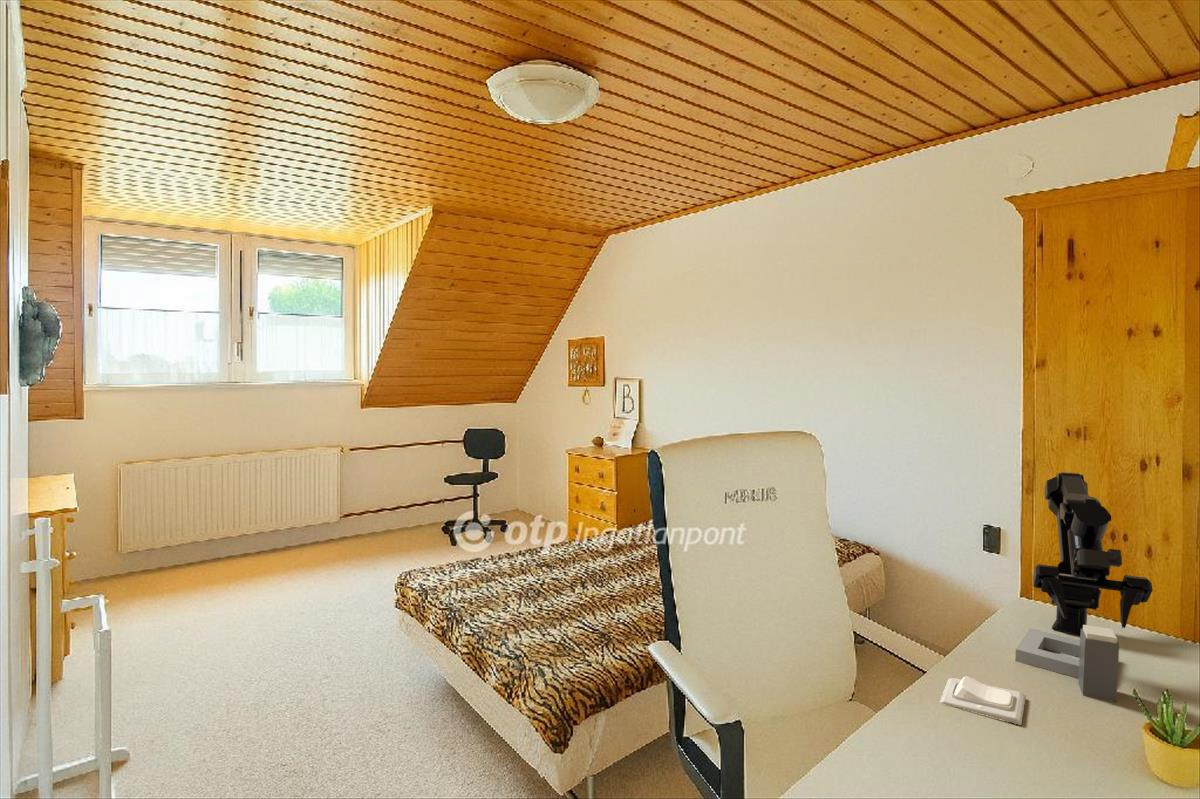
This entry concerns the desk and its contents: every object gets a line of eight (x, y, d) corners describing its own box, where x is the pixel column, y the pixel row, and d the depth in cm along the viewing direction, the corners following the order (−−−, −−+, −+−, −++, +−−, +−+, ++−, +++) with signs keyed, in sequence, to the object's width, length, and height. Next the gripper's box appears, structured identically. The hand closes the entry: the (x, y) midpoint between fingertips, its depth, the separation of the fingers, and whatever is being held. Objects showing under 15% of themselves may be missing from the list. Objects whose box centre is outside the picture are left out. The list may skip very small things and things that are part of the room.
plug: (1078, 683, 124) (1080, 623, 123) (1110, 689, 122) (1113, 628, 121) (1082, 695, 120) (1085, 633, 119) (1116, 702, 117) (1119, 639, 116)
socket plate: (1029, 638, 143) (1029, 626, 143) (1108, 658, 134) (1109, 646, 133) (1015, 660, 133) (1015, 647, 133) (1099, 684, 124) (1100, 670, 123)
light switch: (947, 664, 126) (1024, 680, 119) (948, 685, 126) (1025, 702, 119) (938, 688, 118) (1020, 706, 110) (938, 709, 118) (1021, 729, 110)
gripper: (1036, 526, 133) (1041, 595, 124) (1152, 537, 123) (1166, 613, 115) (1031, 552, 140) (1035, 620, 131) (1140, 565, 131) (1152, 638, 122)
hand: (1094, 622), depth 124 cm, fingers open, 9 cm apart
